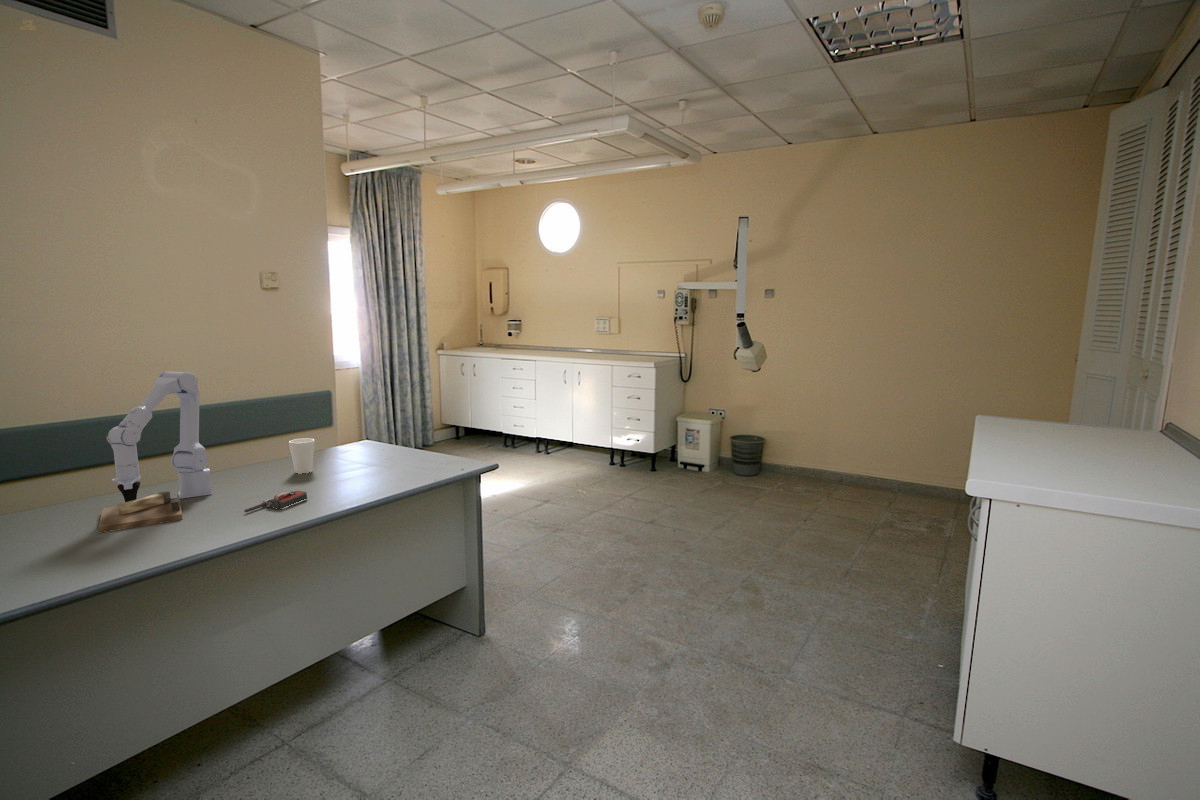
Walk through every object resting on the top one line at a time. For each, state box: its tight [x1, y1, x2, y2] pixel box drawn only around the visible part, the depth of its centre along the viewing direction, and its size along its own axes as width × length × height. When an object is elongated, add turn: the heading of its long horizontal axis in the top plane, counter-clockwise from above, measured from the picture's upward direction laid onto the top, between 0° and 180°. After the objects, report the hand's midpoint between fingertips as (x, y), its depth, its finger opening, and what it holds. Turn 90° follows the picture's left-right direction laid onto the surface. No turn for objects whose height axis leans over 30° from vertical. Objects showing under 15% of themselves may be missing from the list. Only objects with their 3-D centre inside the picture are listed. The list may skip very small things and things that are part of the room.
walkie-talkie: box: [244, 490, 308, 513], centre depth 199 cm, size 9×4×20 cm
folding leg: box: [117, 491, 172, 515], centre depth 189 cm, size 15×3×3 cm, turn 159°
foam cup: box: [288, 437, 316, 475], centre depth 240 cm, size 10×9×13 cm
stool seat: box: [98, 497, 183, 533], centre depth 187 cm, size 20×20×5 cm
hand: (131, 505), depth 188 cm, fingers closed, pressing on folding leg
